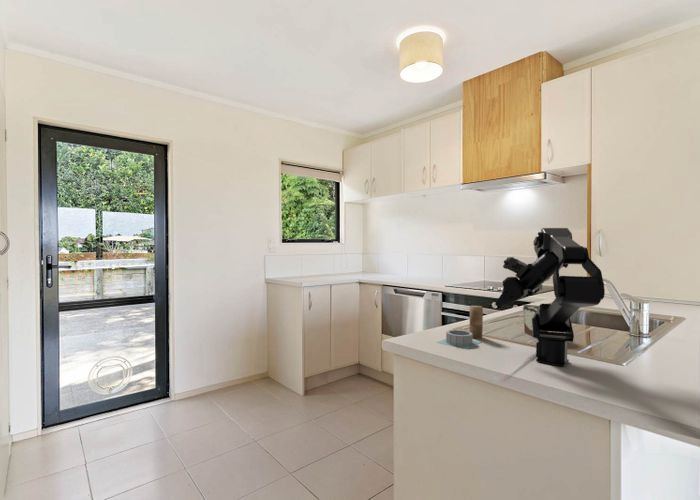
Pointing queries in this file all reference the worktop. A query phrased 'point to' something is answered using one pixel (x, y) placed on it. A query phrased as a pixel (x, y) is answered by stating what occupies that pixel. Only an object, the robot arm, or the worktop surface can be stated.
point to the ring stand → (459, 339)
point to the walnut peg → (476, 321)
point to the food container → (529, 319)
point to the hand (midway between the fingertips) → (502, 303)
